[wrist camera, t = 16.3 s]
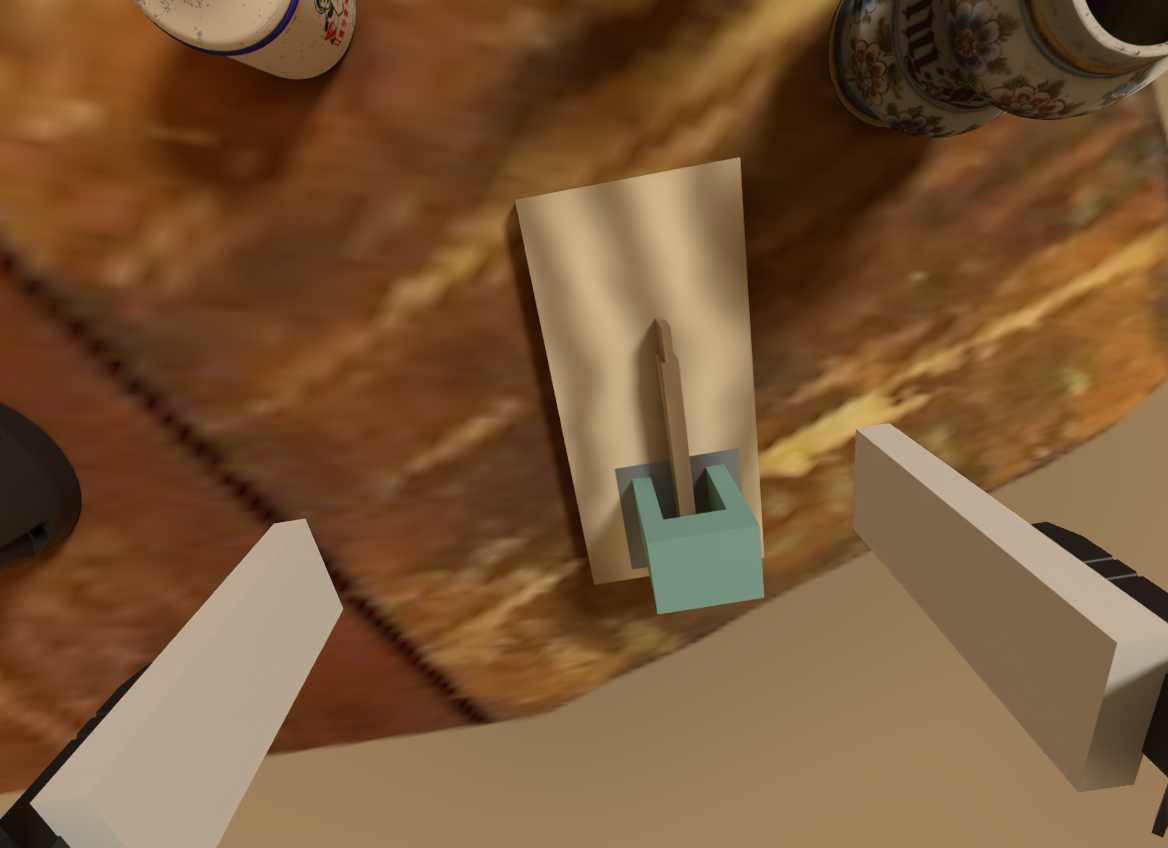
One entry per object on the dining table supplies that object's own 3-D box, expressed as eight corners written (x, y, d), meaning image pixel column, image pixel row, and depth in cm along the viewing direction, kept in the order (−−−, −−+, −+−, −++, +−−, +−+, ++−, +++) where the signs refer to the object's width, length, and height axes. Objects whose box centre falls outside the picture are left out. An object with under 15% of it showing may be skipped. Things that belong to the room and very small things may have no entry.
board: (593, 570, 51) (596, 608, 47) (517, 199, 39) (510, 200, 34) (756, 544, 51) (775, 579, 46) (731, 158, 38) (754, 154, 34)
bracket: (641, 540, 48) (657, 614, 39) (632, 479, 45) (646, 543, 37) (729, 526, 47) (764, 597, 39) (724, 463, 45) (759, 525, 37)
